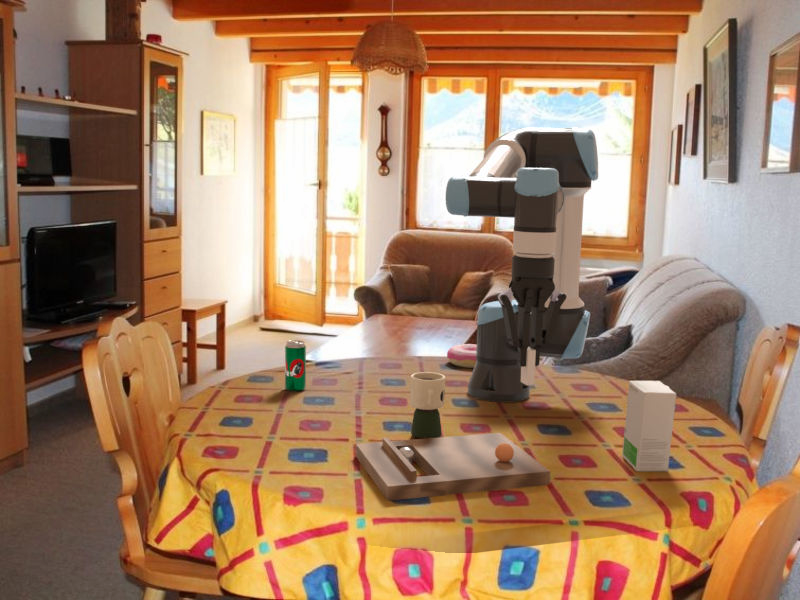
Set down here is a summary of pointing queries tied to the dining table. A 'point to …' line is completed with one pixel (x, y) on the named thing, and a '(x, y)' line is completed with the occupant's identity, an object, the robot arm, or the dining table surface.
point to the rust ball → (504, 452)
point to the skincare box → (648, 425)
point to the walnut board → (448, 466)
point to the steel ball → (408, 454)
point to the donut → (463, 355)
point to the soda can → (295, 365)
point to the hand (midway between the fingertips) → (527, 383)
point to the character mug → (427, 403)
